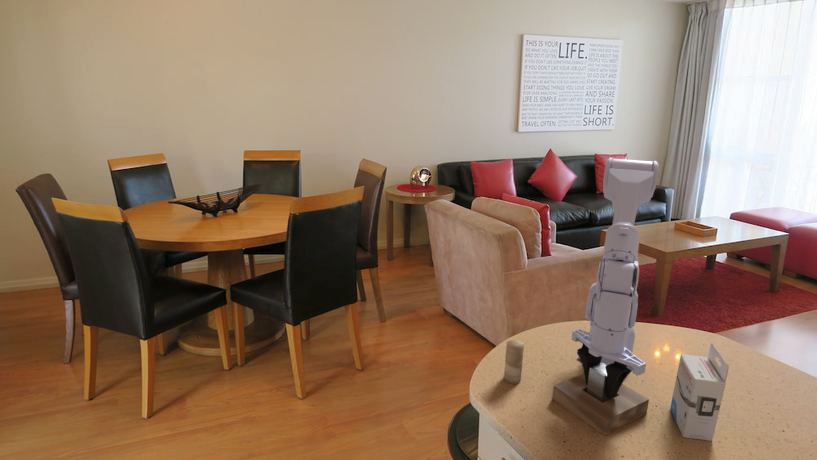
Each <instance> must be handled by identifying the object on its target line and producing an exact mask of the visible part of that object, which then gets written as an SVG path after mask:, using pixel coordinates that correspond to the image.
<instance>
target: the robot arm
mask: <svg viewBox="0 0 817 460" xmlns="http://www.w3.org/2000/svg"><path fill="white" fill-rule="evenodd" d="M659 169H660V164H659V163H658V161H657V160H653V161H651V160H640V159H625V158H613V157H609V158H607V159H606V160H605V166H604V171H603V173H604V174H603V182H602V186H603V188H602V192H603V197H604V198H605V199H606V200H607V201H608V200H609V201H610V202H611V203H612V208H613V216H612V217H613V218H612V225H610V226H609V227H608V228H607V229H606V231H605V232H606V233H605V240H604V246H603V254H602V260H600V261H599V264H598V271H597V276H596V282H594V283H592V284H591V286H590V287H589V292H588V296H587V301H586V308H585V316H584V318H585V319H586V321H588V322H590V323H589V326H590V328H589V331H586V330H584V329H581V328H576V329H574V330H572V333H571V341H574V342H579V343H580V344H582V346H581V347H580V348H577V351H576V352H577V358H578V359H579V360H580V362H581V365H582V368H583V373H584V374H585V380H586V385H588V377H589V370H590V367H592V366H594V365H597V364H599V363H604V364H606V365H607V366H606V372H607V389H606V397H607V398H609V399H610V398H613V397H615V396H616V395H617V393H618V390H619V388H620V386H621V385H622V384H623V383H624V382H625V380H626V378H627V377H628V376H629V375H630V373H632V374H633V375H635V376H637V377H638V376H641V375H643V374H645V372H646V366H647V362H645V361H643V360H641V359H640V358H639V357H638V356H636V355H635V354H634V353H633V352H634V351H633V350H634V345H635V339H636V333H635V329H634V327H635V325H636V319H637V313H638V303H639V301H638V300H639V294H638V291H637V289H638V285H639V277H640V267H639V266H640V265H639V257H638V256H639V247H640V239H641V233H640V231H639V229H637V228H636V226H635V222H636V218H637V213H638V209H639V208H640V206H641V205H643V204H646V203H650V202H651V198H653V196H654V193H655V190H656V189H657V184H658V183H657V182H658V178H659Z"/></svg>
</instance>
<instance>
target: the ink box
mask: <svg viewBox="0 0 817 460" xmlns="http://www.w3.org/2000/svg"><path fill="white" fill-rule="evenodd" d="M717 359H718V360H717ZM718 361H719V362H718ZM729 366H730V365H729V363H728V362H727V361H726V360H725V358H724V357H723V356H722V353H720V351H719V349H717V347H716V346H715V344H714V343H713V342H712V343H710V346H709V352H708V357H707V356H700V355H691V354H683V353H681V354H680V359H679V364H678V368H677V372H676V373H677V374H676V379H675V384H674V389H673V393H672V398H671V403H670V410H671V412H672V415H673V418H674V419H675V422H676V424H677V426H678V428H679V431H680V432H681V435H682V437H683V438H687V439H694V440H703V441H708V442H709V441H710V442H712V441H713V439H714V435H715V430H716V426H717V422H718V418H719V414H720V410H721V404H722V400H723V397H724V392H725V388H726V383H727V377H728V374H729V368H730V367H729Z"/></svg>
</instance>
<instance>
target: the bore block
mask: <svg viewBox="0 0 817 460" xmlns="http://www.w3.org/2000/svg"><path fill="white" fill-rule="evenodd" d="M552 389H553V390H552V396H551V397H552V400H553V401H554V402H556V403H557V404H559V405H561V406H562V407H563V408H565V409H566V410H567V411H569V412H570V413H572V415H574V416H576V417H577V418H579V419H580V420H582V421H583V422H585V423H586V424H588V425H589V426H590V427H592V428H593V429H595V430H596V431H597V432H599V433H600V434H602V435H603V436H605V435H607V434H609V433H611V432H613V431H615V430H616V429H619V428H620V427H622V426H624V425H626V424H629V423H630V422H632V421H635V420H636V419H638V418H640V417H642V416H645V414H647V413H648V407H649V403H650V399H649V398H648V397H646V396H644V395H643V394H641V393H639V392H637V391H635V390H634V389H632V388H630V387H629V386H627V385H626V384H623V383H622V385H621V386H620V388H619V390H618V393H617V395H616V396H615V397H613V398H612V399H610V400H608V401H606V402H604V403H602V402H600V401H599V400H597V399H596V398H594V397H593V396H591V395H589V394H588V393H586V392H587V385H586V380H585V374H584V372H583V373H582V374H578V375H575V376H574V377H571V378H569V379H566V380H564V381H561V382H559V383H556V384H554V385H553V388H552Z"/></svg>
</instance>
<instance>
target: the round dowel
mask: <svg viewBox="0 0 817 460" xmlns="http://www.w3.org/2000/svg"><path fill="white" fill-rule="evenodd" d="M524 349H525V344H524V343H523V342H522V341H520V340H516V339H512V340H507V342H506V349H505V362H504V372H503V373H504V374H503V380H504V381H505V382H506V383H507V384H512V385H516V384H519V383H521V380H522V370H523V362H524V361H523V360H524Z"/></svg>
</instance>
